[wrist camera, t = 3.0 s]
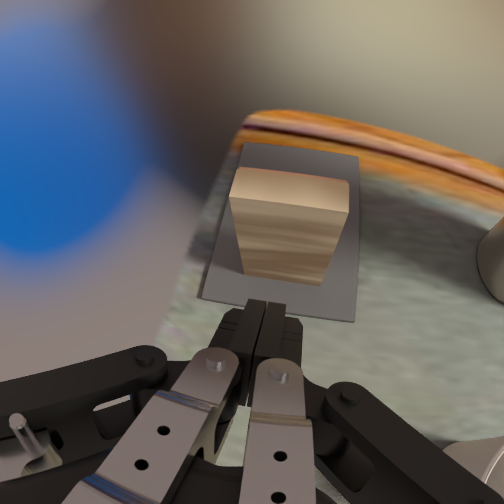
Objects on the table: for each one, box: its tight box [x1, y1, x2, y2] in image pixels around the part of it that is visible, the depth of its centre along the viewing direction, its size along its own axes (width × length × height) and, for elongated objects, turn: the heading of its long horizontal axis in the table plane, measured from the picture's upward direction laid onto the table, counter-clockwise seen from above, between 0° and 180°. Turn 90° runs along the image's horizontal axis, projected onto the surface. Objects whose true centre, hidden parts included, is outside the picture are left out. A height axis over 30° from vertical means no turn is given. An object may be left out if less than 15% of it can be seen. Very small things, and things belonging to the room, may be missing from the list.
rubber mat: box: [201, 142, 360, 323], centre depth 31 cm, size 20×14×1 cm
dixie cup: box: [442, 436, 504, 499], centre depth 14 cm, size 8×8×10 cm
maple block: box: [229, 167, 349, 286], centre depth 23 cm, size 2×7×12 cm, turn 79°
